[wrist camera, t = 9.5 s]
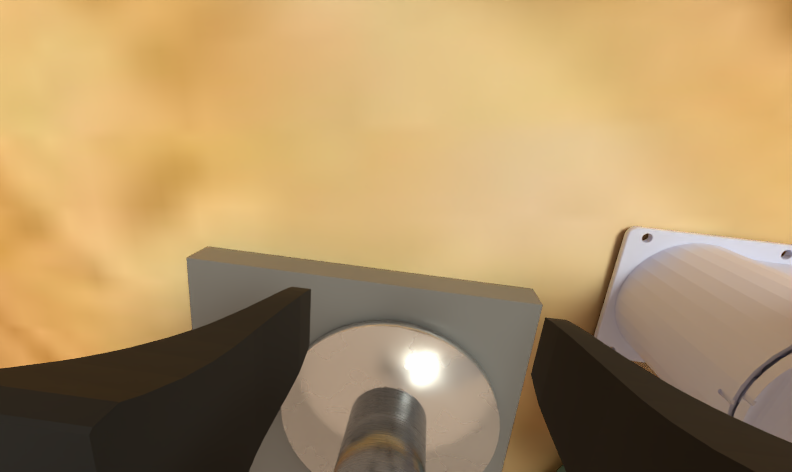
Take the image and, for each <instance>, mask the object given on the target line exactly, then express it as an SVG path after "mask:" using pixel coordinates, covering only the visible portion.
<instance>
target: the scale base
mask: <svg viewBox="0 0 792 472" xmlns="http://www.w3.org/2000/svg"><path fill="white" fill-rule="evenodd" d="M187 269H188V282H189V294H190V307H191V320H192V330H193V329H196V328H199V327H202V326H204V325H207V324H210V323H212V322H215V321H217V320H219V319H222V318H224V317H226V316H229V315H231V314H233V313H236V312H238V311H240V310H242V309H245V308H247V307H249V306H251V305H253V304H255V303H257V302H259V301H261V300H263V299H265V298H267V297H269V296H272V295H274V294H276V293H278V292H280V291H282V290H284V289H287V288H289V287H299V288H308V289H311V310H310V345H311V344H312V343H314V342H315V341H316V340H317V339H318V338H320V337H322V336H323V335H325V334H327V333H328V332H330V331H332V330H335V329H337V328H339V327H341V326H345V325H348V324H351V323H355V322H361V321H367V320H384V319H385V320H397V321H404V322H409V323H414V324H417V325H420V326H424V327H427V328H430V329H432V330H434V331H436V332H438V333H441V334H443V335H444V336H446V337H448V338H449V339H451V340H453V341H454V342H456V343H457V344H458V345H460V346H461V347H462V348H463V349H465V350H466V351H467V352H468V353H469V354H470V355H471V356H472V357H473V358H474V359H475V360H476V361H477V363H478V364H479V365H480V367H481V368H482V369H483V371H484V372H485V374H486V376H487V378H488V379H489V381H490V383H491V386H492V389H493V391H494V394H495V398H496V402H497V407H498V412H499V418H500V432H499V438H498V443H497V446H496V449H495V452H494V454H493V456H492V458H491V460H490V462H489V464H488V465H487V467H486V468H485V469H484V471H483V472H502V468H503V464H504V460H505V456H506V452H507V448H508V444H509V440H510V436H511V432H512V428H513V423H514V419H515V415H516V411H517V407H518V403H519V399H520V395H521V391H522V387H523V383H524V379H525V375H526V371H527V367H528V363H529V358H530V354H531V350H532V346H533V342H534V338H535V334H536V330H537V326H538V322H539V318H540V314H541V310H542V306H543V305H542V303H541V302H540V300H539V298H538V297H537V295H536V293H535V292H534V290H533V289H529V288H521V287H513V286H506V285H498V284H490V283H483V282H475V281H467V280H460V279H452V278H444V277H437V276H429V275H421V274H414V273H406V272H398V271H391V270H383V269H375V268H368V267H360V266H352V265H345V264H337V263H329V262H322V261H314V260H306V259H299V258H291V257H283V256H276V255H268V254H260V253H253V252H245V251H237V250H230V249H222V248H214V247H206V248H204V249H202V250H200V251H198V252H196V253H194V254H193V255H191V256H189V257H187ZM310 345H309V346H310ZM249 472H311V471H310V470H309V469H308V468H307V467H306V466H305V464H304V463H303V462H302V461H301V460H300V458H299V457H298V456H297V454H296V453H295V452H294V450H293V448H292V446H291V444H290V443H289V441H288V438H287V435H286V433H285V430H284V426H283V422H282V415H281V408H280V410H279V412H278V414H277V415H276V417H275V419H274V421H273V423H272V425H271V426H270V428H269V430H268V432H267V434H266V436H265V437H264V439H263V441H262V444H261V446H260V448H259V450H258V452H257V454H256V456H255V458H254V461H253V463H252V465H251V468H250V470H249Z"/></svg>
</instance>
